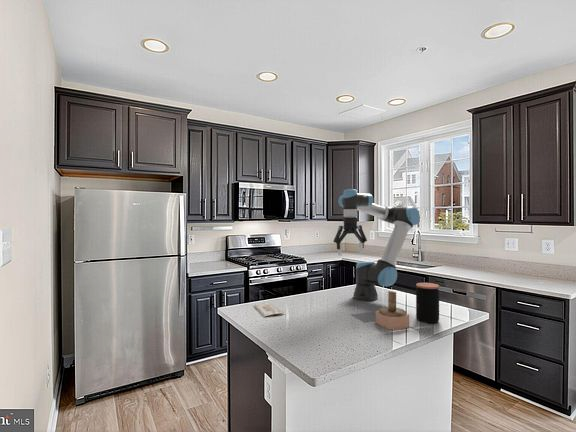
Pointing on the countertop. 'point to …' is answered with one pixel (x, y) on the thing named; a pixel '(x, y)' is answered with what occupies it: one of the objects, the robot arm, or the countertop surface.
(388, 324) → the pink open box
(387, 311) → the lid
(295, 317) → the countertop surface
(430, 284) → the coffee jar
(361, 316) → the mat
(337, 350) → the countertop surface
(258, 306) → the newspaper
